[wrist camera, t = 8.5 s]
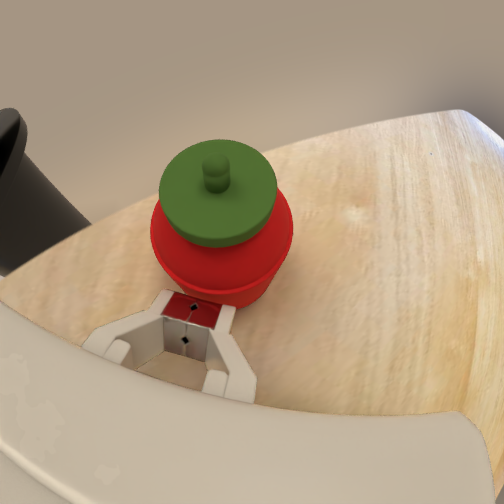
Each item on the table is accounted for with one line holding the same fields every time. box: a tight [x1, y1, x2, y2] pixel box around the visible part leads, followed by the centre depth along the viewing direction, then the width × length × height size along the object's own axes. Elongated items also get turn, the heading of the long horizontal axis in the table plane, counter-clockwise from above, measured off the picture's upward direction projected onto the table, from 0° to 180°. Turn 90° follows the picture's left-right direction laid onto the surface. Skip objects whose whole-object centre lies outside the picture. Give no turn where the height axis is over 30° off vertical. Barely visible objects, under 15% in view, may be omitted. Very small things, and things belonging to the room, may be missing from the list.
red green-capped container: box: [150, 140, 293, 310], centre depth 12 cm, size 6×6×10 cm
